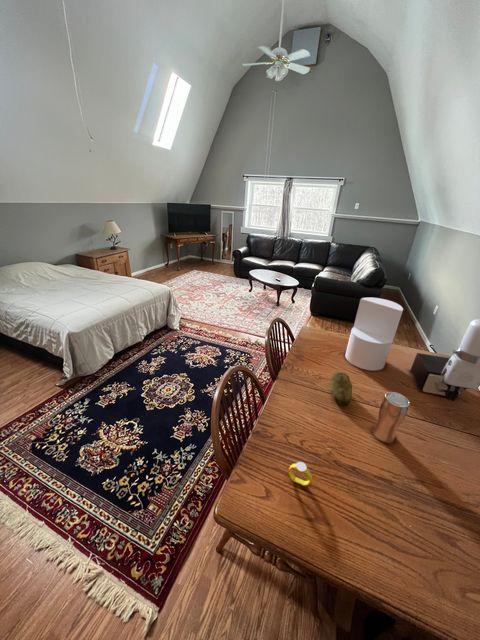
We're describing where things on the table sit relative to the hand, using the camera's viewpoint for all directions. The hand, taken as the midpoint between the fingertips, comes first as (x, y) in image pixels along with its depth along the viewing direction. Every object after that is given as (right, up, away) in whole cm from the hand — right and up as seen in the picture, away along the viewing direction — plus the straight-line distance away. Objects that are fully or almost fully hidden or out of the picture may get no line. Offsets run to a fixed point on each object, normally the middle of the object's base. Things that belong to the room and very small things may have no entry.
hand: (449, 398), depth 97 cm
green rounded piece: (-39, -1, +5) cm, 39 cm away
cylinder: (-17, +10, +29) cm, 35 cm away
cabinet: (+4, +2, +14) cm, 15 cm away
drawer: (+3, +1, +11) cm, 11 cm away
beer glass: (-30, -9, -11) cm, 33 cm away
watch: (-61, -15, -26) cm, 68 cm away
